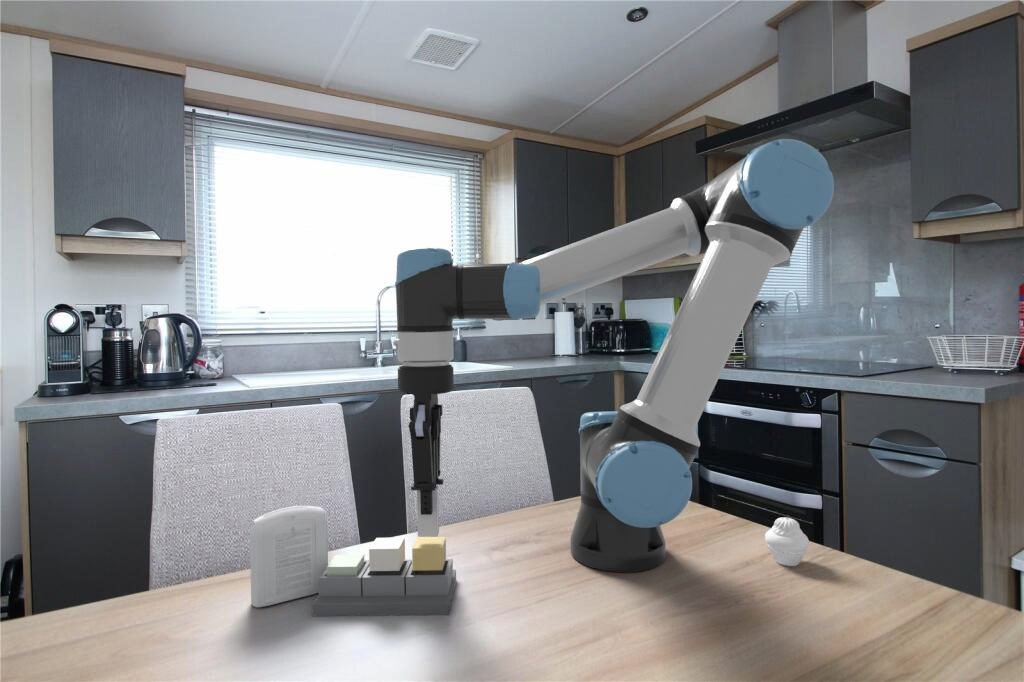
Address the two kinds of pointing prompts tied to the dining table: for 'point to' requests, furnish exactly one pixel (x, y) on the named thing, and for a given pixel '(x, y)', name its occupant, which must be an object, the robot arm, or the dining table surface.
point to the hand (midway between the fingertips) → (428, 534)
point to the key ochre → (429, 553)
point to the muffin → (787, 542)
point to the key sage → (345, 565)
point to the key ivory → (387, 554)
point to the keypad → (387, 592)
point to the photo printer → (287, 554)
